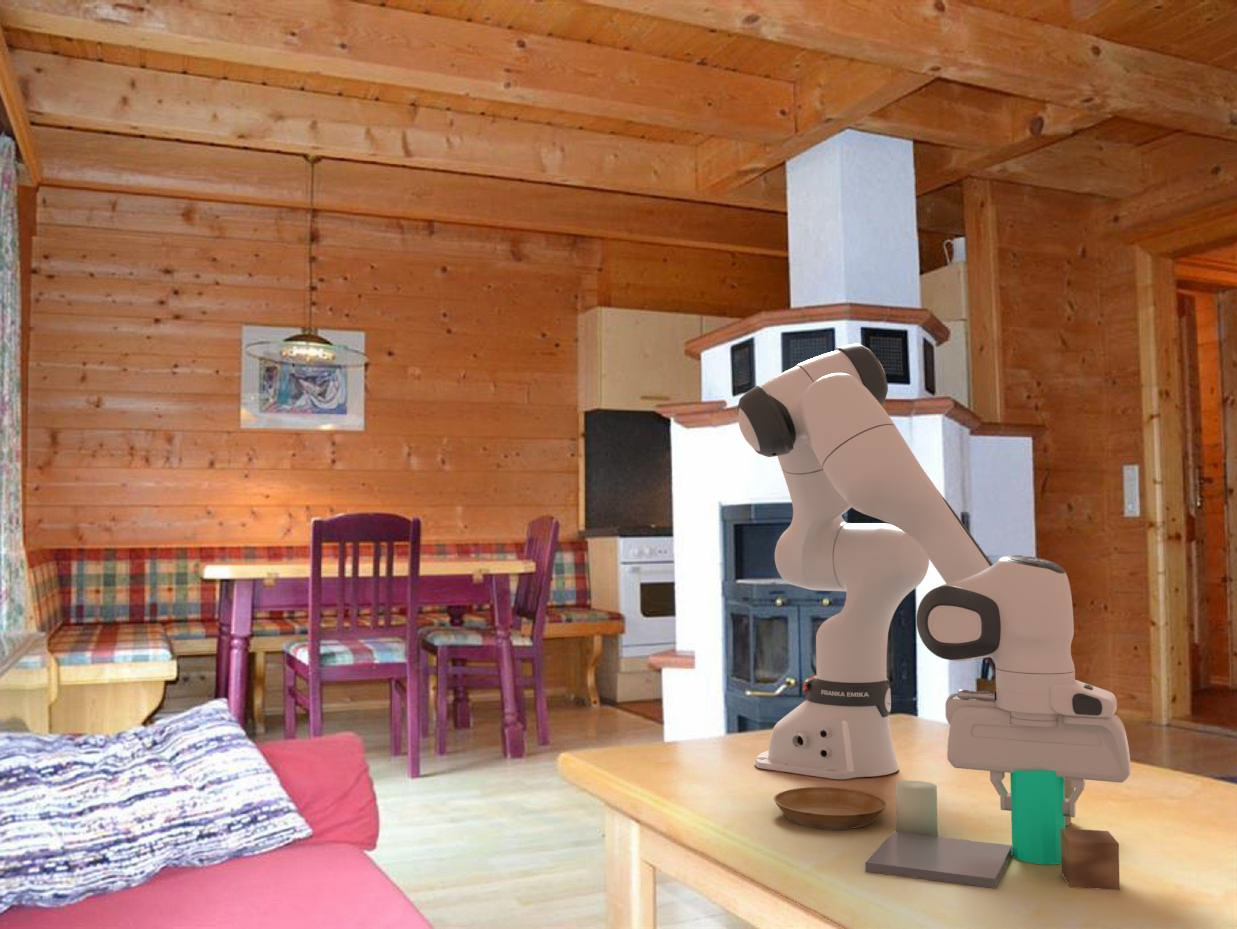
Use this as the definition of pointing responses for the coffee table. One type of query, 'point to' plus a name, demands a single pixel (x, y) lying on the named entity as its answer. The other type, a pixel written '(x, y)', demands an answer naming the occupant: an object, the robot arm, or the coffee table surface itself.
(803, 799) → the plant saucer
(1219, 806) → the coffee table surface
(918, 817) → the white rounded capsule
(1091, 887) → the walnut cube
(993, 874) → the coaster
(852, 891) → the coffee table surface
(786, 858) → the coffee table surface
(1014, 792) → the candle
